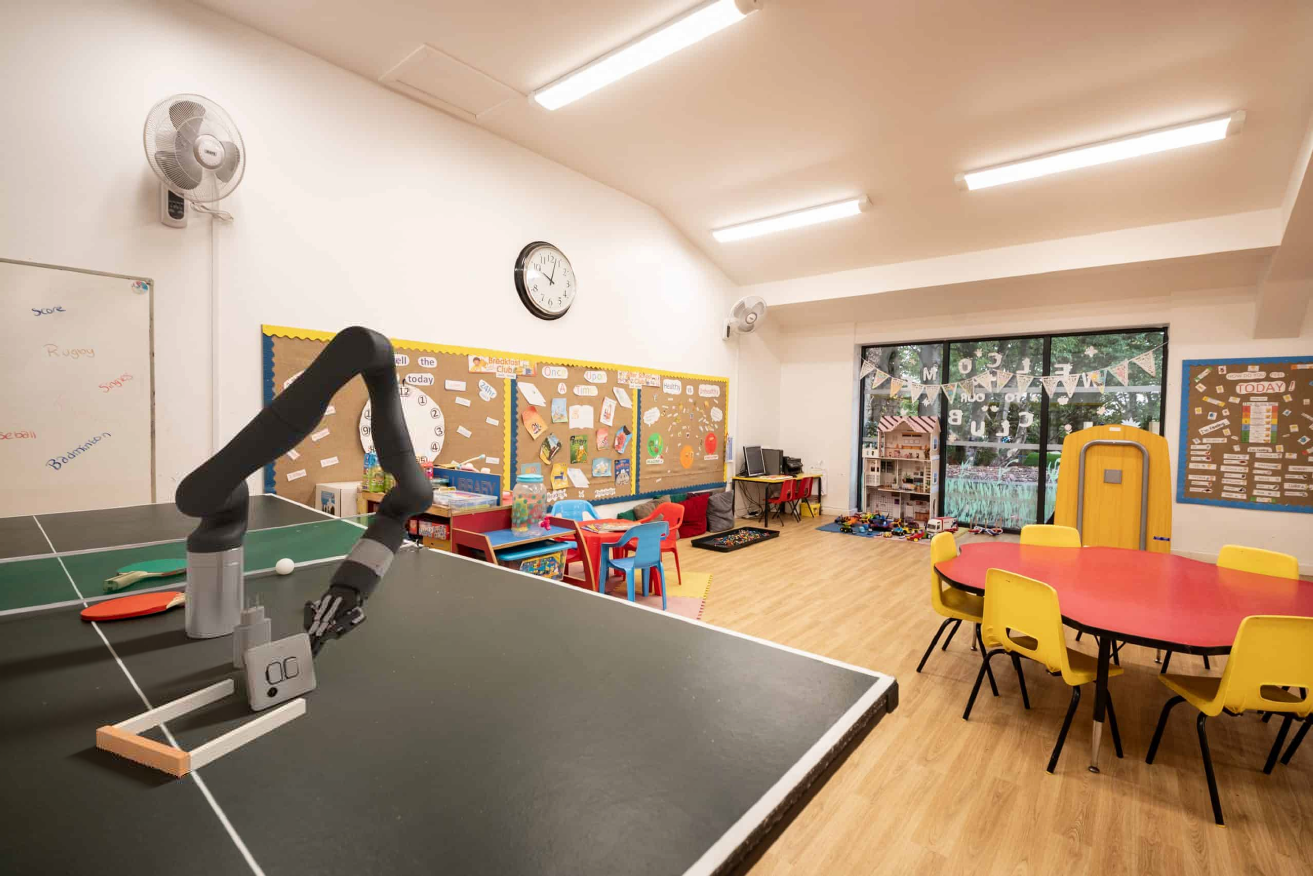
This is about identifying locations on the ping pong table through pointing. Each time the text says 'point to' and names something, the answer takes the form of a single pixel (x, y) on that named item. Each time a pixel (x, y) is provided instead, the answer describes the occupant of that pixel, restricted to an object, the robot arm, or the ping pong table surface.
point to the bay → (180, 762)
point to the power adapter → (251, 632)
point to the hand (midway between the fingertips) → (303, 659)
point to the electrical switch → (278, 671)
